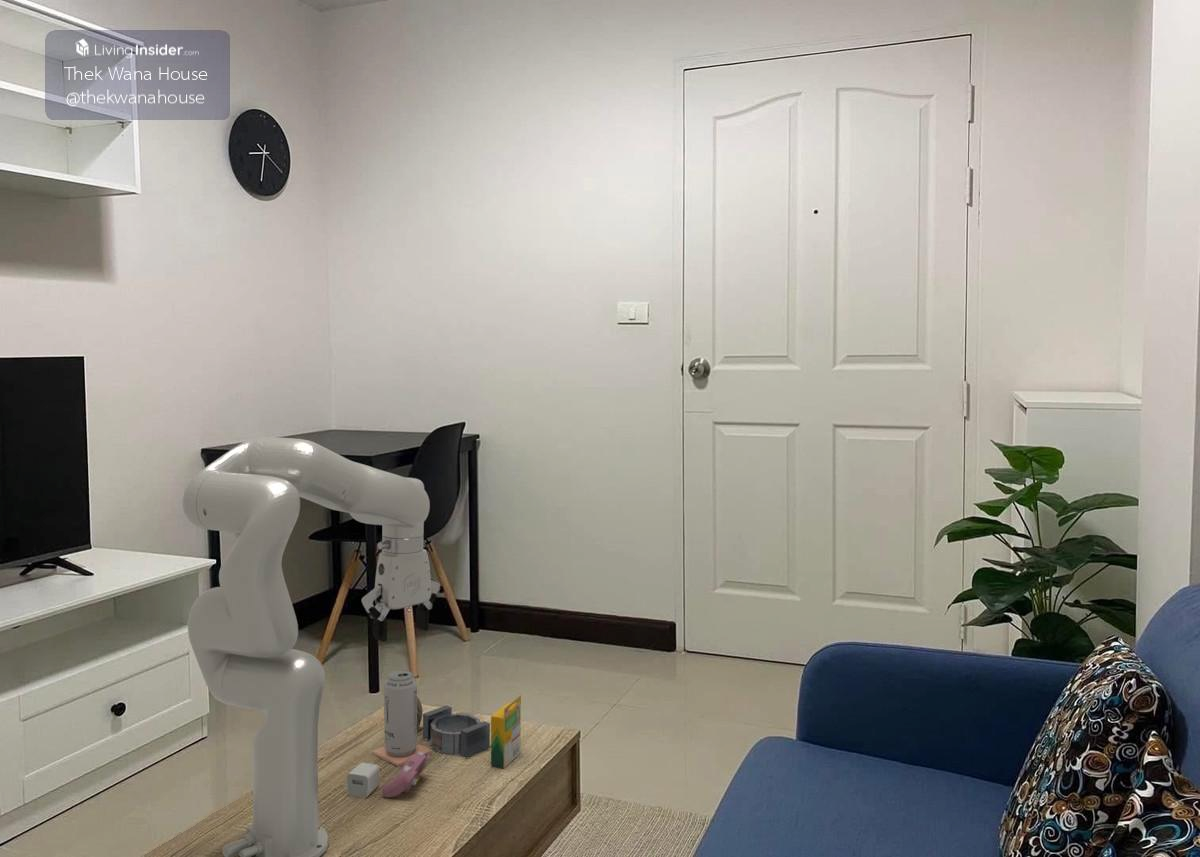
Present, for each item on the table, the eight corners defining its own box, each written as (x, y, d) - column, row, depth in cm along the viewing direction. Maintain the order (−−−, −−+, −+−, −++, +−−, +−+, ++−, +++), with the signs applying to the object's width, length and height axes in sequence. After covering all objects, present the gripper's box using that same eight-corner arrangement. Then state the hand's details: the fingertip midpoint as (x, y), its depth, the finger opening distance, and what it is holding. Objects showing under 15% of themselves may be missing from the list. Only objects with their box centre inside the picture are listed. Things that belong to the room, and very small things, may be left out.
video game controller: (400, 809, 164) (417, 776, 162) (378, 795, 164) (395, 762, 163) (421, 783, 173) (438, 752, 172) (400, 769, 174) (417, 738, 173)
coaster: (397, 766, 176) (397, 764, 176) (371, 753, 181) (371, 750, 181) (431, 752, 182) (431, 750, 182) (405, 740, 187) (405, 738, 187)
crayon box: (506, 750, 184) (507, 692, 183) (521, 753, 183) (522, 694, 182) (489, 766, 177) (490, 706, 176) (504, 769, 176) (505, 708, 175)
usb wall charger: (346, 795, 165) (346, 773, 165) (365, 777, 172) (365, 755, 171) (368, 798, 164) (368, 776, 164) (385, 780, 171) (386, 758, 170)
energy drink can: (382, 746, 183) (381, 671, 181) (413, 741, 185) (413, 667, 184) (387, 760, 177) (386, 682, 176) (419, 755, 180) (419, 678, 178)
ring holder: (496, 745, 186) (496, 720, 186) (458, 761, 179) (459, 735, 178) (453, 726, 194) (453, 702, 194) (415, 740, 187) (415, 716, 186)
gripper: (376, 554, 168) (375, 649, 170) (451, 541, 181) (450, 629, 183) (351, 547, 173) (350, 639, 175) (426, 535, 186) (425, 621, 188)
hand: (401, 634), depth 179 cm, fingers open, 9 cm apart
